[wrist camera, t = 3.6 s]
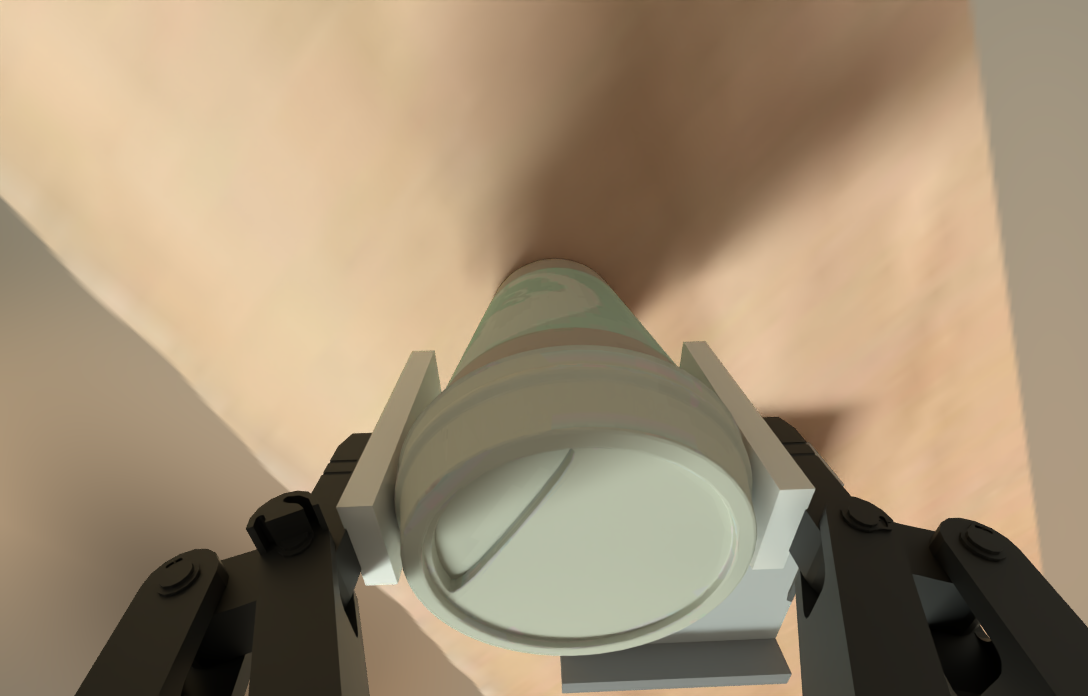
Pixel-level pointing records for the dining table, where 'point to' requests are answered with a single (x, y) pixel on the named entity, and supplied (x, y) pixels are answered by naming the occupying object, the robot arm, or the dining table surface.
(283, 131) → the dining table surface
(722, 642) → the plate
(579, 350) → the coffee cup
